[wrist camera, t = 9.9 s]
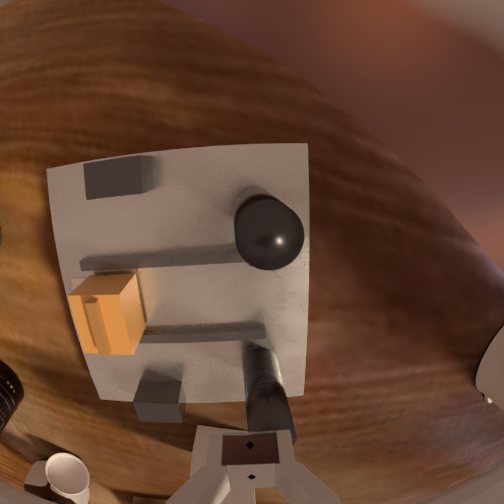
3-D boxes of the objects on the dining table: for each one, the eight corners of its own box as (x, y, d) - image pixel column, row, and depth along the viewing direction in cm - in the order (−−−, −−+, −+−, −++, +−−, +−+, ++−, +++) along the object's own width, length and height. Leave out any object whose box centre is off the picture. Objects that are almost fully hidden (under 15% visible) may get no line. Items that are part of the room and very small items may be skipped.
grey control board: (298, 145, 24) (357, 132, 12) (297, 376, 30) (326, 467, 19) (63, 167, 23) (-30, 178, 11) (108, 381, 29) (72, 465, 17)
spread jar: (48, 474, 35) (30, 521, 24) (24, 435, 32) (-4, 486, 20) (108, 491, 36) (95, 544, 25) (88, 454, 33) (67, 515, 21)
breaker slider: (135, 273, 22) (116, 298, 18) (145, 327, 24) (131, 359, 19) (89, 275, 22) (63, 299, 18) (101, 327, 23) (81, 357, 19)
